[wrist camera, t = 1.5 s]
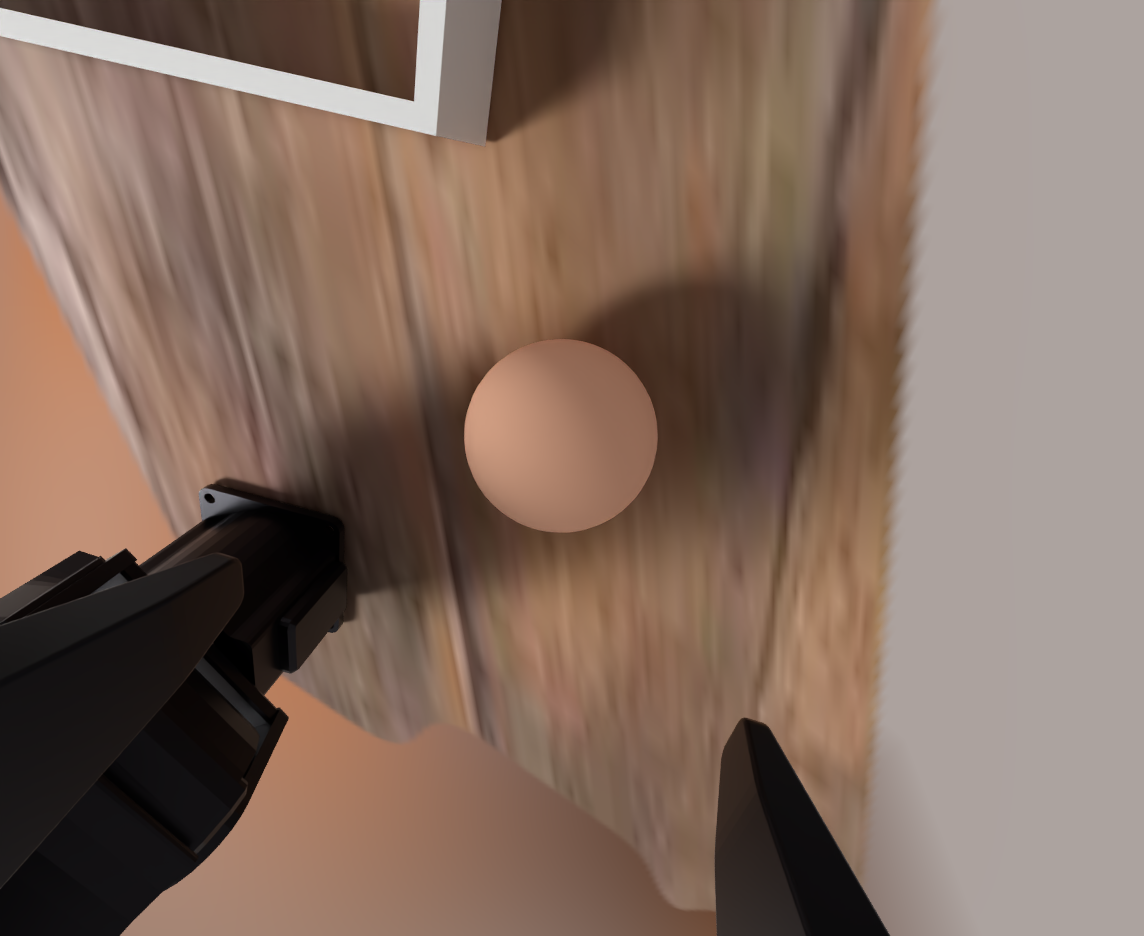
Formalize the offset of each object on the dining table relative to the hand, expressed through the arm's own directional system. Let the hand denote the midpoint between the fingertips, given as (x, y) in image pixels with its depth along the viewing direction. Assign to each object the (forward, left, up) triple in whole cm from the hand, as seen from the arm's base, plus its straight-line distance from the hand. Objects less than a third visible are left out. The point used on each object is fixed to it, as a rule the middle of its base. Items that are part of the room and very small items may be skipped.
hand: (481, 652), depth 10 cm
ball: (0, 0, -12) cm, 12 cm away
